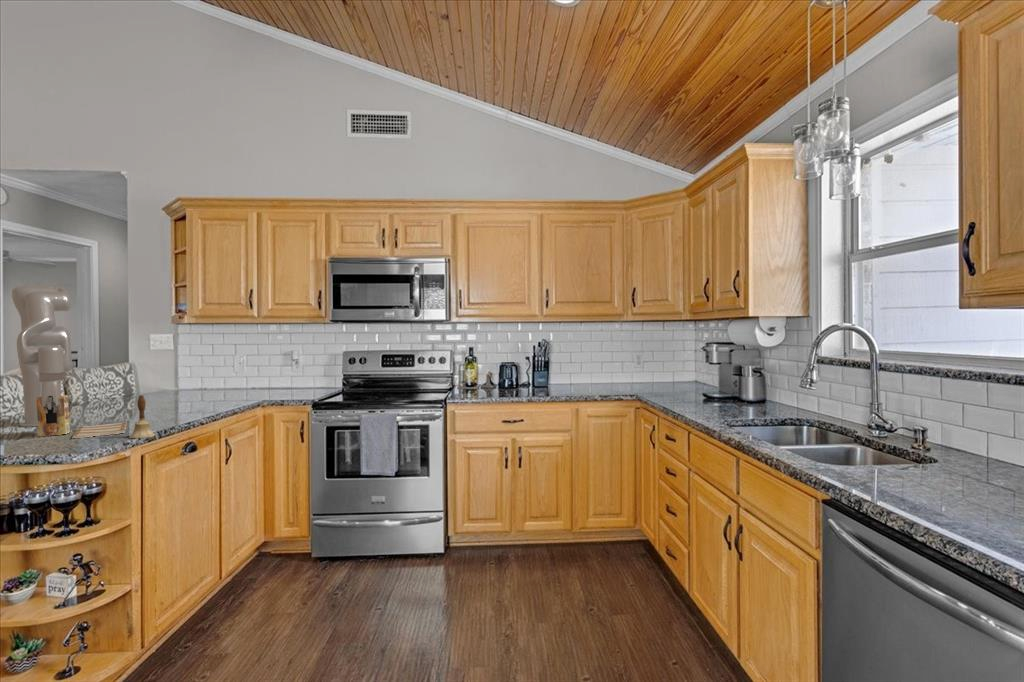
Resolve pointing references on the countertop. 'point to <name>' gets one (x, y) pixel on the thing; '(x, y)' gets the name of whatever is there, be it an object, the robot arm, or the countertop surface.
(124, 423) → the board
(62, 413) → the candy box
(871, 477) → the countertop surface
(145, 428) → the hand bell
